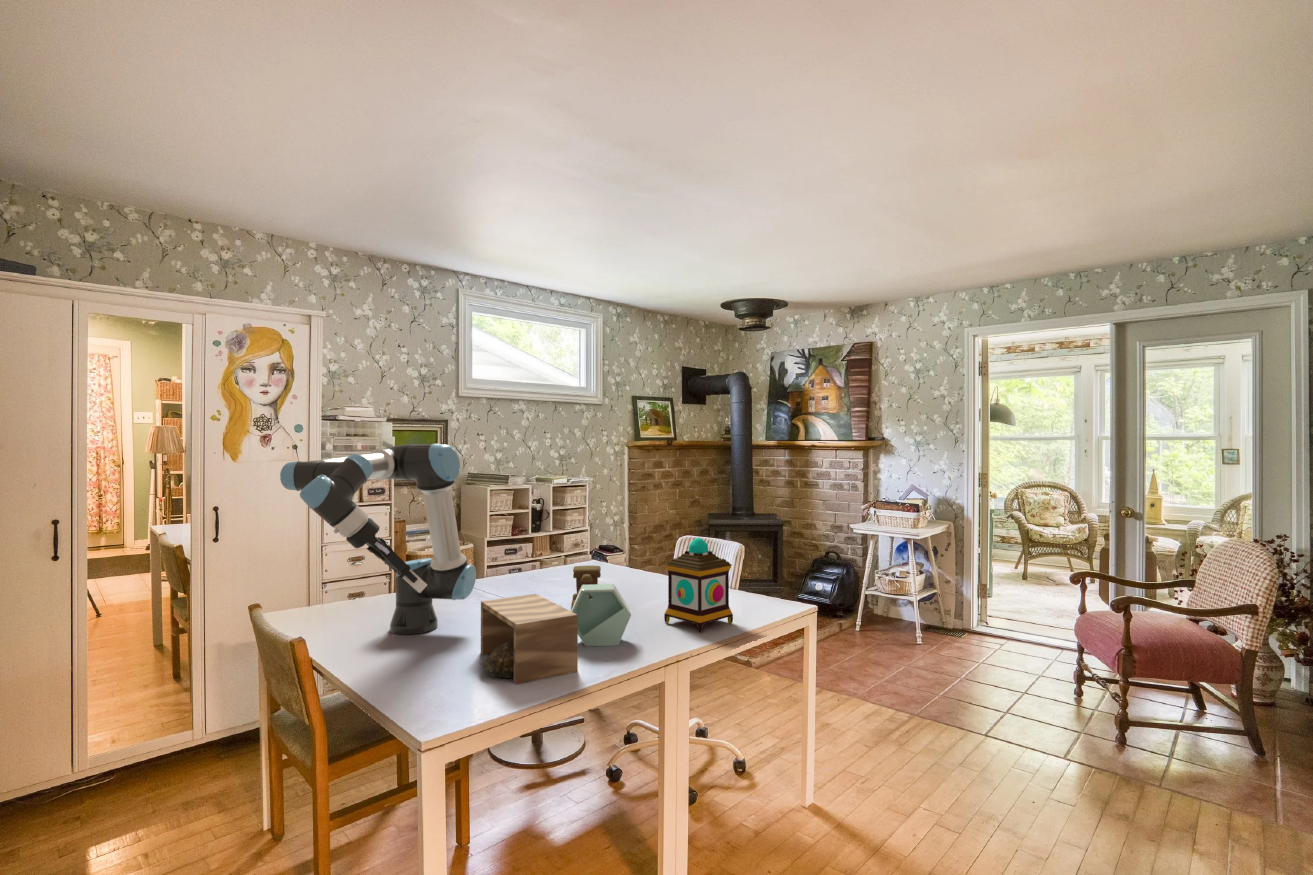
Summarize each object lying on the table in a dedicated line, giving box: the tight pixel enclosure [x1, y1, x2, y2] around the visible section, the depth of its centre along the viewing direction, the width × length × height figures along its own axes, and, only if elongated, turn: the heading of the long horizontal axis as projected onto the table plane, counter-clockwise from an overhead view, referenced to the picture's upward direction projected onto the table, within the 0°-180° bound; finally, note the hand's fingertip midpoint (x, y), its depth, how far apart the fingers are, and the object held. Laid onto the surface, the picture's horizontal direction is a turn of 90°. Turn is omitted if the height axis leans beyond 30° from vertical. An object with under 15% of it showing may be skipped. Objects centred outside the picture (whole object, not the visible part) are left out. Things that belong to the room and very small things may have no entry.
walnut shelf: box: [480, 593, 579, 685], centre depth 180 cm, size 30×18×16 cm, turn 33°
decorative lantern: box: [663, 537, 734, 634], centre depth 220 cm, size 20×20×30 cm
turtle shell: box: [480, 640, 514, 678], centre depth 174 cm, size 16×9×20 cm
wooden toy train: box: [570, 565, 602, 611], centre depth 230 cm, size 20×11×17 cm, turn 5°
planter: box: [570, 583, 632, 647], centre depth 198 cm, size 17×8×21 cm
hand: (422, 588), depth 165 cm, fingers closed
